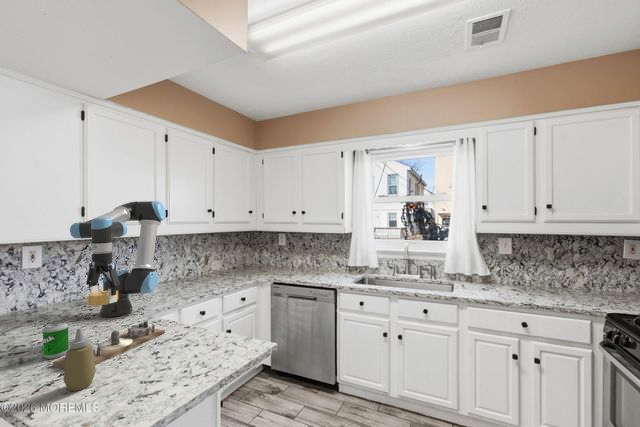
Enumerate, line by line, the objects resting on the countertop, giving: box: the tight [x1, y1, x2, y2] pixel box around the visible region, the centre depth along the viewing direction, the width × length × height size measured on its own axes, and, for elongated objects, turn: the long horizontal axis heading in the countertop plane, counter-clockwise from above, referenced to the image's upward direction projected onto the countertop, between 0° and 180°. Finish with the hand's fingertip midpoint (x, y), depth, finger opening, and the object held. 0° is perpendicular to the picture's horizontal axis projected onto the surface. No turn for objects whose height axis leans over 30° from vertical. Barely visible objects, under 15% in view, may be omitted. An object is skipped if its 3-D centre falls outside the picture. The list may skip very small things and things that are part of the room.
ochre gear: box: [86, 290, 118, 307], centre depth 138 cm, size 11×11×4 cm
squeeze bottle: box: [63, 327, 97, 392], centre depth 97 cm, size 8×8×18 cm
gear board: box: [52, 320, 166, 370], centre depth 125 cm, size 36×14×7 cm, turn 160°
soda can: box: [42, 321, 70, 360], centre depth 119 cm, size 8×8×12 cm
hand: (103, 301), depth 138 cm, fingers closed on ochre gear, 11 cm apart
